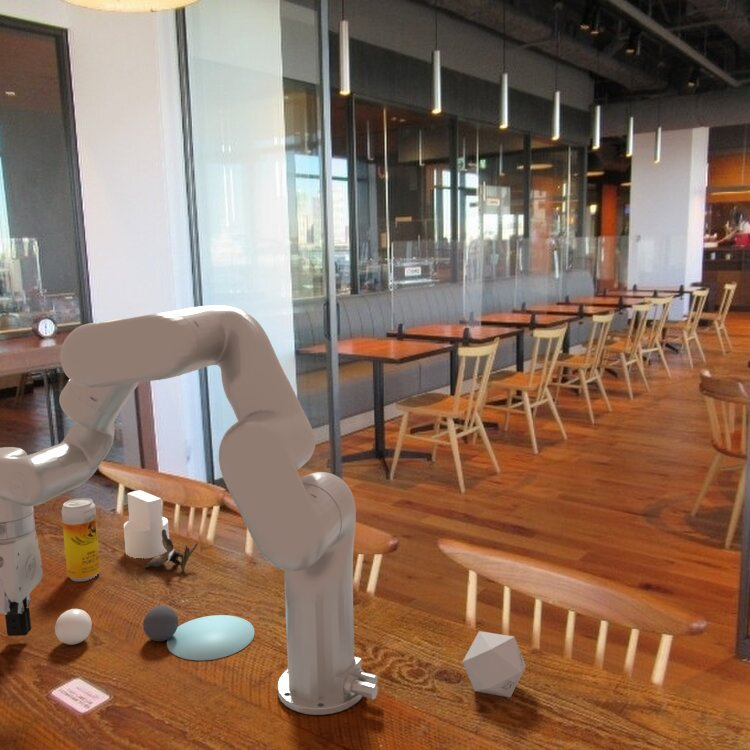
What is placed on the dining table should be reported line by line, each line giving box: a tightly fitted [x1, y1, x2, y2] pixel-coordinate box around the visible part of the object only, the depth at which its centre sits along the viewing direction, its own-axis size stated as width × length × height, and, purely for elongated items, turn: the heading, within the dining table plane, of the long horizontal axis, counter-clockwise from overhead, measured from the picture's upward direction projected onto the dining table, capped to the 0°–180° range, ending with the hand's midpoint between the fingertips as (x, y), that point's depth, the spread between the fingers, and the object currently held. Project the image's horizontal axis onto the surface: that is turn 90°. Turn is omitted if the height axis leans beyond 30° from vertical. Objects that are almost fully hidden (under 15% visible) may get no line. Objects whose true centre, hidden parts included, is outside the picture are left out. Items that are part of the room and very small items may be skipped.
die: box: [462, 630, 527, 699], centre depth 104 cm, size 8×9×10 cm
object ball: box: [142, 605, 179, 642], centre depth 120 cm, size 6×6×6 cm
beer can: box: [61, 497, 101, 582], centre depth 143 cm, size 6×6×15 cm
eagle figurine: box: [144, 529, 199, 573], centre depth 147 cm, size 8×8×10 cm
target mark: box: [166, 614, 256, 661], centre depth 120 cm, size 14×14×1 cm
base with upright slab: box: [123, 489, 170, 559], centre depth 155 cm, size 9×9×12 cm
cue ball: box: [54, 608, 93, 645], centre depth 119 cm, size 6×6×6 cm
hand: (19, 632), depth 120 cm, fingers closed
